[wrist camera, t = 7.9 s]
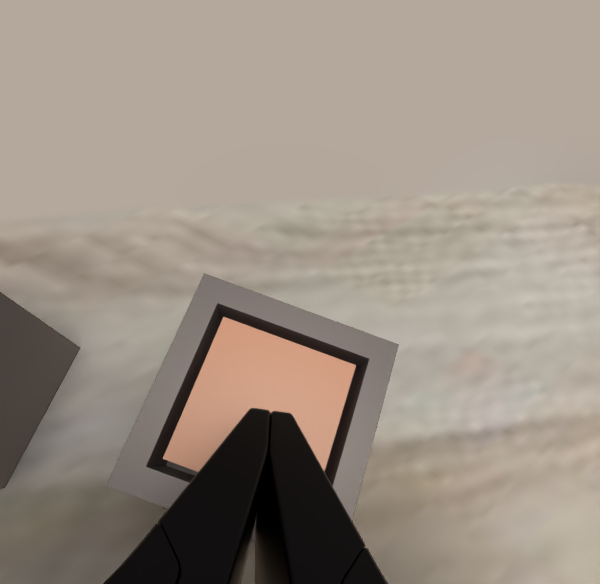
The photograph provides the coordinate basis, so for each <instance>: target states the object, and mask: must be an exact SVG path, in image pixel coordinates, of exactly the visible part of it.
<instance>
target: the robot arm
mask: <svg viewBox="0 0 600 584" xmlns="http://www.w3.org/2000/svg"><path fill="white" fill-rule="evenodd" d="M255 520H256V525H255ZM254 525H255V584H388V583H387V582H386V580H385V578H384V576H383V575H382V573H381V571H380V570H379V568H378V566H377V565H376V563H375V561H374V559H373V557H372V556H371V554H370V552H369V550H368V549H367V548H365V543H364V542H363V540H362V538H361V536H360V534H359V533H358V531H357V529H356V527H355V526H354V524H353V522H352V520H351V518H350V517H349V515H348V513H347V511H346V509H345V508H344V506H343V504H342V502H341V501H340V499H339V497H338V495H337V493H336V492H335V490H334V488H333V486H332V484H331V483H330V481H329V479H328V477H327V476H326V474H325V472H324V470H323V468H322V467H321V465H320V463H319V461H318V459H317V458H316V456H315V454H314V452H313V451H312V449H311V447H310V445H309V443H308V442H307V440H306V438H305V436H304V435H303V433H302V431H301V429H300V427H299V426H298V424H297V422H296V420H295V418H294V417H293V415H292V414H291V413H287V412H280V411H272V412H271V413H270V411H269V410H266V409H258V408H250V409H249V410H248V411H247V413H246V414H245V415H244V416H243V418H242V419H241V420H240V421H239V422H238V424H237V425H236V426H235V427H234V429H233V430H232V431H231V432H230V434H229V435H228V436H227V437H226V438H225V440H224V441H223V442H222V443H221V445H220V446H219V447H218V448H217V450H216V451H215V452H214V453H213V455H212V456H211V457H210V458H209V459H208V461H207V462H206V463H205V464H204V466H203V467H202V468H201V469H200V471H199V472H198V473H197V474H196V475H195V477H194V478H193V479H192V480H191V482H190V483H189V484H188V485H187V487H186V488H185V489H184V490H183V491H182V493H181V494H180V495H179V496H178V498H177V499H176V500H175V501H174V503H173V504H172V505H171V506H170V508H169V509H168V510H167V511H166V512H165V514H164V515H163V516H162V517H161V519H160V520H159V522H158V524H156V525H155V526H154V527H153V528H152V529H151V531H150V532H149V533H148V534H147V536H146V537H145V538H144V539H143V540H142V542H141V543H140V544H139V545H138V546H137V547H136V549H135V550H134V551H133V552H132V553H131V554H130V555H129V557H128V558H127V559H126V560H125V561H124V562H123V564H122V565H121V566H120V567H119V568H118V569H117V570H116V571H115V572H114V573H113V574H112V575H111V576H110V577H109V578H108V579H107V580H106V581H105V582H104V583H103V584H241V580H242V576H243V572H244V568H245V564H246V559H247V555H248V551H249V547H250V543H251V539H252V534H253V530H254Z"/></svg>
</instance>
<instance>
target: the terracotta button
mask: <svg viewBox="0 0 600 584" xmlns="http://www.w3.org/2000/svg"><path fill="white" fill-rule="evenodd" d="M355 367H356V365H354V364H351V363H349V362H346V361H343V360H340V359H338V358H335V357H332V356H330V355H327V354H324V353H321V352H319V351H316V350H313V349H310V348H308V347H305V346H302V345H300V344H297V343H294V342H291V341H289V340H286V339H283V338H280V337H278V336H275V335H272V334H270V333H267V332H264V331H261V330H259V329H256V328H253V327H250V326H248V325H245V324H242V323H240V322H237V321H234V320H231V319H229V318H226V317H223V319H222V321H221V323H220V326H219V328H218V330H217V333H216V335H215V338H214V340H213V342H212V345H211V347H210V349H209V352H208V354H207V356H206V359H205V361H204V363H203V366H202V368H201V370H200V373H199V375H198V377H197V380H196V382H195V384H194V387H193V389H192V391H191V394H190V396H189V398H188V401H187V403H186V405H185V408H184V410H183V412H182V415H181V417H180V419H179V422H178V424H177V426H176V429H175V431H174V433H173V436H172V438H171V440H170V443H169V445H168V447H167V450H166V452H165V454H164V457H163V459H165V460H167V461H170V462H173V463H176V464H178V465H181V466H184V467H186V468H189V469H192V470H195V471H197V472H199V471H200V469H201V468H202V467H203V466H204V464H205V463H206V462H207V461H208V459H209V458H210V457H211V456H212V455H213V453H214V452H215V451H216V450H217V448H218V447H219V446H220V445H221V443H222V442H223V441H224V440H225V438H226V437H227V436H228V435H229V434H230V432H231V431H232V430H233V429H234V427H235V426H236V425H237V424H238V422H239V421H240V420H241V419H242V418H243V416H244V415H245V414H246V413H247V411H248V410H249V409H250V408H258V409H266V410H269V411H270V413H271V412H272V411H280V412H287V413H291V414H292V415H293V417H294V418H295V420H296V422H297V424H298V426H299V427H300V429H301V431H302V433H303V435H304V436H305V438H306V440H307V442H308V443H309V445H310V447H311V449H312V451H313V452H314V454H315V456H316V458H317V459H318V461H319V463H320V465H321V467H322V468H323V470H324V472H325V468H326V465H327V461H328V458H329V455H330V451H331V448H332V445H333V441H334V438H335V435H336V431H337V428H338V425H339V421H340V418H341V414H342V411H343V408H344V404H345V401H346V398H347V394H348V391H349V388H350V384H351V381H352V378H353V374H354V371H355Z"/></svg>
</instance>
